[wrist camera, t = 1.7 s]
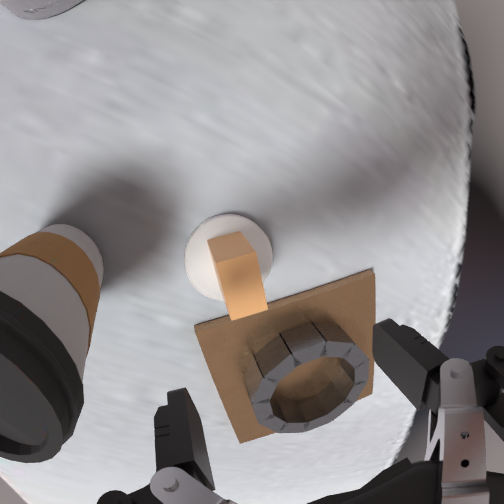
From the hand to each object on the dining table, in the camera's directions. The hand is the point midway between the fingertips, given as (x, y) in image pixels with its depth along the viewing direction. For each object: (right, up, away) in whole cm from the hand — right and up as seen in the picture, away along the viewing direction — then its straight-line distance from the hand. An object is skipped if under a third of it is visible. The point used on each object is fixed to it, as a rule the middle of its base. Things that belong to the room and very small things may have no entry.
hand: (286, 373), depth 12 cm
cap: (-3, +5, +12) cm, 13 cm away
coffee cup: (-15, +4, +9) cm, 18 cm away
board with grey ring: (+3, -6, +18) cm, 19 cm away
